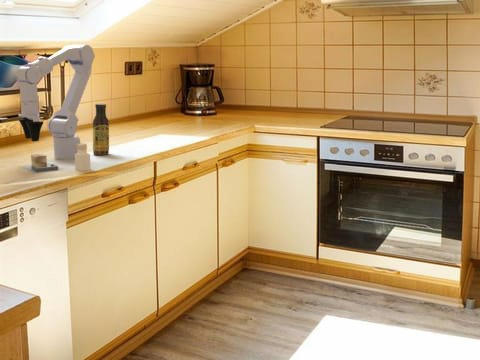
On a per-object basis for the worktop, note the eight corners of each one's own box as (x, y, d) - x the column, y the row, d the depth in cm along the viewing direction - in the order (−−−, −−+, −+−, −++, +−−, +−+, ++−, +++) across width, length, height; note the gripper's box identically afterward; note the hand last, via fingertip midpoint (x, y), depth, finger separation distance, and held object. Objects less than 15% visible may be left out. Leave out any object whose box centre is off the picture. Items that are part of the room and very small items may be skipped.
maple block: (43, 164, 222) (42, 153, 221) (47, 166, 218) (46, 155, 217) (31, 165, 219) (30, 154, 219) (35, 168, 216) (34, 156, 215)
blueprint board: (49, 165, 225) (49, 159, 225) (63, 172, 213) (63, 166, 213) (21, 168, 220) (21, 162, 219) (34, 175, 208) (33, 169, 207)
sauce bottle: (94, 156, 243) (92, 105, 239) (91, 153, 248) (89, 103, 244) (111, 155, 245) (109, 104, 241) (108, 152, 251) (106, 102, 247)
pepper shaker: (81, 173, 212) (80, 145, 210) (74, 171, 214) (73, 144, 212) (91, 171, 215) (90, 144, 213) (84, 170, 217) (83, 142, 215)
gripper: (12, 100, 223) (15, 137, 226) (23, 103, 211) (26, 143, 214) (32, 99, 227) (34, 136, 230) (44, 102, 215) (47, 141, 218)
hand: (32, 139), depth 222 cm, fingers open, 7 cm apart
